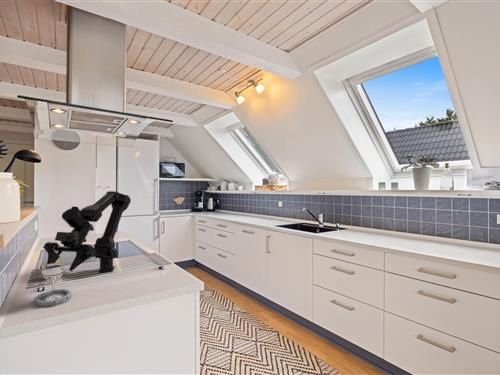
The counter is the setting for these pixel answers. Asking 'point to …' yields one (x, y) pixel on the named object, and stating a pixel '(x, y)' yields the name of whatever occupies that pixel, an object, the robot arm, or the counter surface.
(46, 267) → the wineglass
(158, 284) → the counter surface
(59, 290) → the holder
